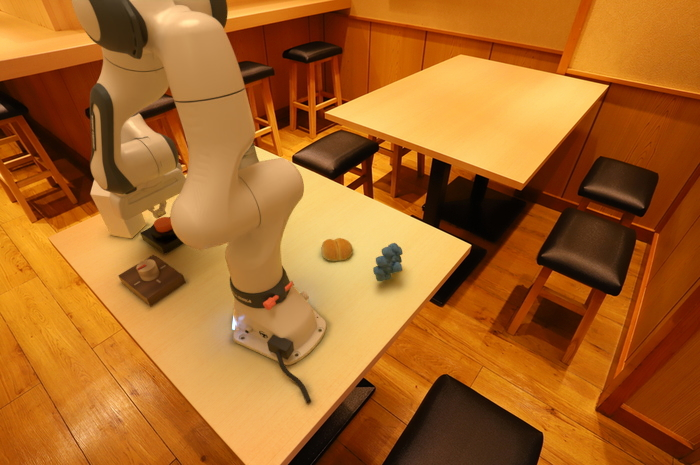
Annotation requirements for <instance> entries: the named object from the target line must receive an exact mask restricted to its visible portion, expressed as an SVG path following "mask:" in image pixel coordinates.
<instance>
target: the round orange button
mask: <svg viewBox="0 0 700 465" xmlns="http://www.w3.org/2000/svg"><path fill="white" fill-rule="evenodd" d="M169 217H170V216H161V217H160V218H158V219H156V220H154V222H153V224H154V226H155V229H156V231H157V232H161V233H163V232H167V231H169V230H171V229H172V225H171V219H170V218H169Z"/></svg>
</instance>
